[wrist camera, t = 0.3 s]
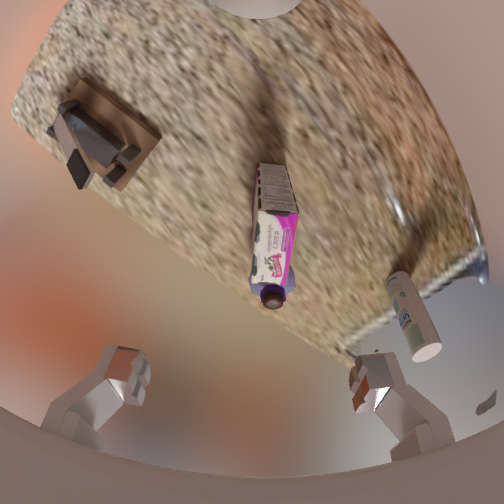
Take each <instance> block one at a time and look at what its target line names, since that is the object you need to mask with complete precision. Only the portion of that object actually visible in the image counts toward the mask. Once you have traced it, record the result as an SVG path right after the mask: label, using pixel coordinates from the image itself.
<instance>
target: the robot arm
mask: <svg viewBox="0 0 504 504" xmlns="http://www.w3.org/2000/svg"><path fill="white" fill-rule="evenodd" d="M213 1H214V2H215V3H216V4H217V5H218V6H219V7H221V8H222V9H224V10H225V11H227V12H229V13H231V14H233V15H236V16H240V17H244V18H250V19H265V18H272V17H276V16H279V15H282V14H284V13H286V12H288V11H290V10H292V9H293V8H294V7H296V6H297V5H298V4H299V3H300V2H301V1H302V0H213ZM144 358H145V354H144V352H143V350H138V349H133V348H127V347H121V346H115V345H109V344H108V345H107V346H106V347H105V349H104V351H103V353H102V355H101V358H100V360H99V362H98V364H97V366H96V369H95V371H94V373H93V375H89V376H87V377H86V378H84V379H83V380H82V381H80V382H79V383H77V384H76V385H75V386H73V387H72V388H71V389H69V390H68V391H67V392H65V393H64V394H62V395H61V396H60V397H58V398H57V399H55V400H54V401H53V402H51V404H50V406H49V408H48V411H47V413H46V416H45V418H44V420H43V423H42V425H41V427H38V426H36V425H34V424H32V423H30V422H28V421H26V420H24V419H22V418H20V417H18V416H16V415H14V414H13V413H11V412H9V411H7V410H6V409H4V408H2V407H1V406H0V504H504V421H502V422H500V423H498V424H496V425H494V426H492V427H490V428H488V429H486V430H484V431H481V432H479V433H477V434H475V435H472V436H470V437H468V438H466V439H463V440H460V441H458V442H455V439H454V436H453V433H452V430H451V426H450V423H449V421H448V418H447V416H446V415H445V414H444V413H443V412H442V411H440V410H439V409H438V408H437V407H436V406H435V405H433V404H432V403H431V402H430V401H429V400H427V399H426V398H425V397H424V396H423V395H421V394H420V393H419V392H418V391H417V390H416V389H414V388H413V387H412V386H411V385H406V382H405V380H404V376H403V374H402V371H401V368H400V366H399V363H398V360H397V357H396V355H395V354H394V353H393V352H390V353H382V354H381V353H378V354H370V355H359V356H357V357H356V359H355V366H354V367H352V368H351V371H350V375H349V386H350V390H351V391H352V392H353V393H354V394H355V395H354V397H353V399H352V400H353V405H354V410H355V413H360V412H370V411H375V413H376V414H377V416H378V417H380V419H381V420H382V421H383V422H384V423H385V425H386V426H387V427H388V428H389V429H390V430H391V432H392V433H393V434H394V435H395V436H396V437H397V438H398V439H399V441H400V442H399V443H398V444H397V445H395V446H394V447H393V448H392V449H391V451H390V454H391V459H392V462H391V463H386V464H382V465H377V466H373V467H368V468H362V469H356V470H350V471H344V472H336V473H327V474H318V475H306V476H289V477H288V476H287V477H245V476H227V475H215V474H205V473H197V472H189V471H182V470H176V469H171V468H165V467H160V466H154V465H150V464H145V463H141V462H137V461H133V460H129V459H125V458H121V457H118V456H115V455H111V454H108V453H104V452H102V449H103V446H104V442H105V441H104V439H103V438H102V437H101V436H100V435H99V434H98V433H97V432H96V430H97V429H98V428H99V427H101V425H103V423H105V422H106V421H107V419H109V418H110V417H111V416H112V415H113V414H114V413H115V412H116V411H117V410H118V409H119V408H120V407H121V406H122V405H123V403H127V404H132V405H138V406H142V404H143V401H144V397H145V394H146V392H145V390H144V387H145V386H146V385H148V384H149V380H150V374H151V370H150V365H149V363H148V362H147V361H146V360H145V359H144Z"/></svg>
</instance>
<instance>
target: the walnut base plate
mask: <svg viewBox="0 0 504 504" xmlns="http://www.w3.org/2000/svg"><path fill="white" fill-rule="evenodd" d="M73 99H77V100H78V101H79V102H80V103H81V105H80V107H79V108H81V109H82V110H83V111H85V112H86V113H87V114H89V115H90V116H91V117H92V118H94V119H95V120H96V121H97V122H99V123H100V124H101V125H102V126H104V127H105V128H106V129H107V130H109V131H110V132H111V133H113V134H114V135H115V136H116V137H118V138H119V139H120V140H121V141H123V142H124V143H125V144H126V145H125V147H124V148H123V150H125V149H126V148H127V147H129V146H130V145H131V144H134V145H135V146H136V147H137V148H139V149H140V150H141V152H140V154H139V155H138V156H137V157H136V158H135V159H134V160H133V161H131V162H130V163H129V164H128V165H127V166H125V165H123V164H122V163H121V162H120V161H118V160H117V159H116V160H115V162H114V163H113V164H112V165H110V166H109V167H108V168H107V169H106V168H105V167H103V166H102V165H101V164H100V163H98V162H97V161H96V160H95V159H93V158H92V157H91V156H90V155H88V154H87V153H86V152H85V151H84V153H85V155H86V157H87V158H88V160H89V162H90V164H91V166H92V168H93V169H94V171H95V172H96V173H97V174H98V175H100V176H101V177H102V178H103V179H104V177H105V176H106V175H107V174H108V173H109V172H110V171H111V170H112V169H113V168H114V167H116V166H117V165H118V164H119V165H120V166H121V167H123V168H124V169H125V170H126V171H127V172H126V173H125V175H124V176H123V177H122V178H121V179H120V180H119V181H118V182H117V183H116V184H115V185H114V187H115V188H116V189H117V190H119V191H120V192H121V191H122V190H123V189H124V188H125V187H126V185H127V184H128V182H129V181H130V179H131V178H132V177H133V175H134V174H135V172H136V171H137V170H138V168H139V167H140V166H141V164H142V163H143V161H144V160H145V159H146V157H147V156H148V155H149V154H150V152H151V151H152V150H153V148H154V147H155V146H156V145H157V143H158V142H159V141H160V140H161V138H162V137H161V136H160V135H159V134H158V133H156V132H155V131H154V130H153V129H151V128H150V127H149V126H148V125H146V124H145V123H144V122H143V121H141V120H140V119H139V118H138V117H136V116H135V115H134V114H133V113H131V112H130V111H129V110H127V109H126V108H125V107H124V106H122V105H121V104H120V103H118V102H117V101H116V100H115V99H113V98H112V97H111V96H109V95H108V94H107V93H105V92H104V91H103V90H102V89H100V88H99V87H98V86H96V85H95V84H94V83H92V82H91V81H90V80H88V79H87V78H84V79H80V80H79V82H78V84H77V85H76V87H75V89H74V91H73V92H72V94H71V96H70V98H69V100H68V101H70V100H73ZM69 113H70V112H68V113H66V114H65V115H66V117H68V115H69ZM53 138H54V139H55V140H57V141H58V142H59V140H58V138H57V136H55V137H53ZM123 150H122V151H123ZM122 151H121V152H122Z"/></svg>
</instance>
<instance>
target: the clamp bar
mask: <svg viewBox="0 0 504 504" xmlns="http://www.w3.org/2000/svg"><path fill="white" fill-rule="evenodd" d="M53 129H54V131H55V133H56V136H57V138H58V140H59V143H60V145H61V147H62V149H63V151H64V154H65V156H66V158H67V160H68V162H67V164H66V165H67V167H68V169H69V171H70V173H71V175H72V177H73V179H74V181H75V183H76V185H77V187H78V189H86V188H87V187H88V185H89V183H90V182H91V180H92V178H93V176H94V174H95V171H94V169H93V168H92V166H91V164H90V162H89V160H88V158H87V157H86V155H85V153H84V151H83V149H82V147H81V145H80V143H79V141H78V139H77V138H76V136H75V134H74V132H73V130H72V128H71V126H70V123H69V121H68V119H67V117H66V115H65V114H64V115H63V114H62V113H61V112H60V114H59V116H58V118H57V120H56V122H55V124H54V126H53Z"/></svg>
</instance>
